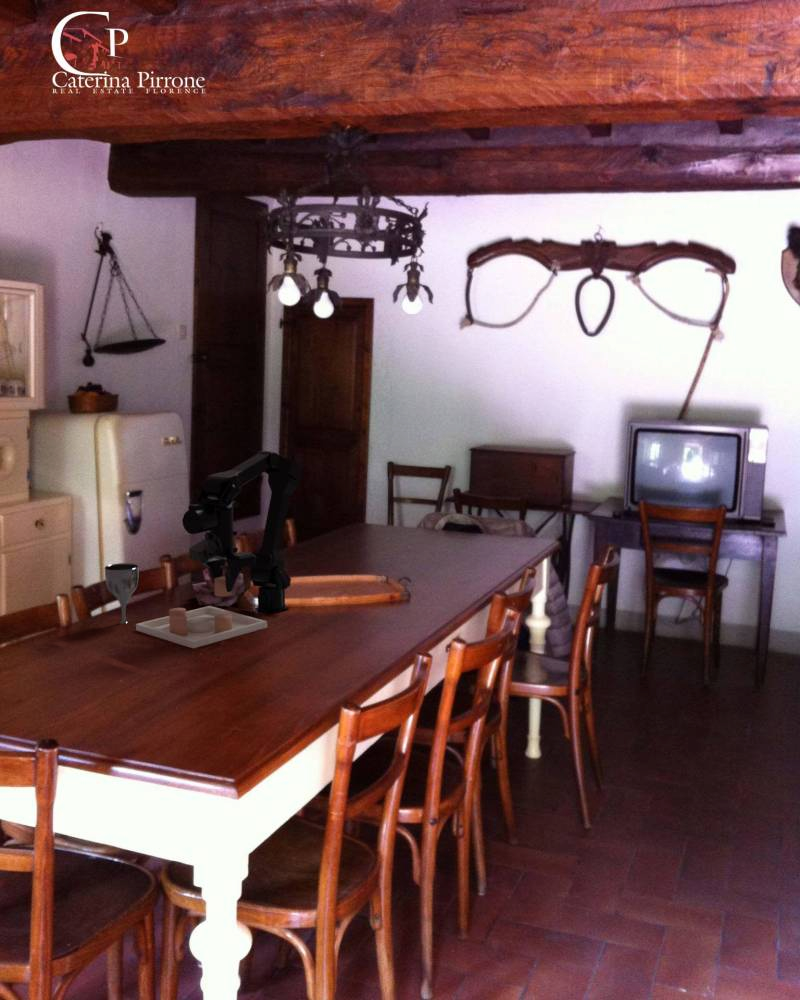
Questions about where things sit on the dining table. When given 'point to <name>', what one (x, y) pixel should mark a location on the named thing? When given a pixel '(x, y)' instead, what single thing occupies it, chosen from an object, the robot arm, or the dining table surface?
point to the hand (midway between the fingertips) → (223, 590)
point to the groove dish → (202, 627)
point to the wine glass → (122, 582)
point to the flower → (208, 591)
